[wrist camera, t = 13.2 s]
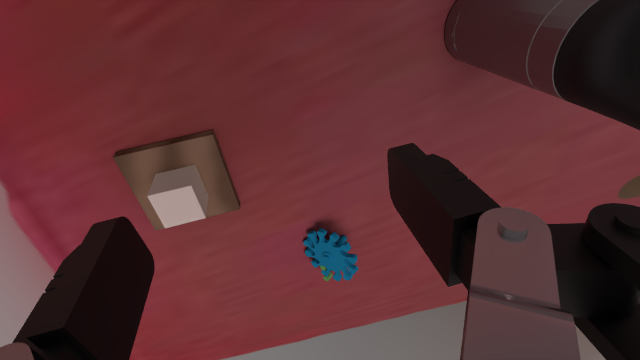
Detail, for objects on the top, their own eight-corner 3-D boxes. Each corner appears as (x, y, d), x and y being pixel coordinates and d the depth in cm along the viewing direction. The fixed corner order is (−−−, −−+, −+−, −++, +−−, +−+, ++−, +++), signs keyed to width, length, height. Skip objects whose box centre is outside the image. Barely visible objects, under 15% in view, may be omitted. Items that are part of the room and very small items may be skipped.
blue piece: (304, 222, 51) (360, 255, 47) (324, 203, 55) (377, 232, 52) (297, 266, 58) (346, 297, 54) (315, 245, 62) (361, 273, 58)
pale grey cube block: (195, 164, 42) (191, 185, 38) (208, 195, 45) (205, 217, 40) (155, 173, 41) (147, 196, 37) (171, 204, 44) (165, 228, 40)
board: (213, 129, 41) (211, 145, 38) (240, 202, 48) (240, 222, 44) (116, 151, 40) (104, 170, 36) (157, 223, 47) (150, 246, 43)
